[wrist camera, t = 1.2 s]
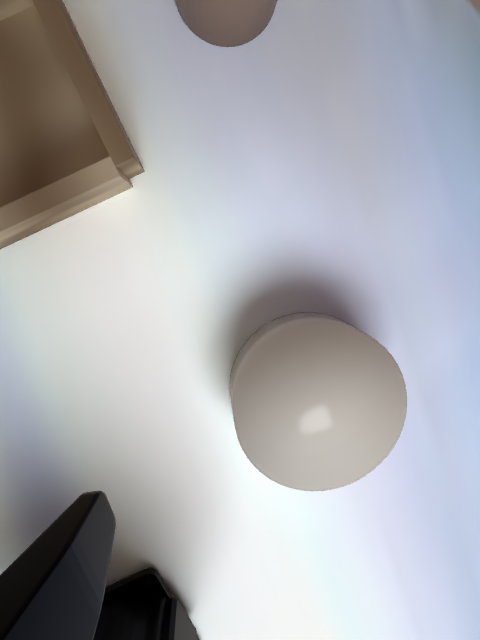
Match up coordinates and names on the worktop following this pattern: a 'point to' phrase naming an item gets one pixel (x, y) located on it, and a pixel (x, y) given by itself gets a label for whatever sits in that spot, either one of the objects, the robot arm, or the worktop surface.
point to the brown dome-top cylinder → (226, 19)
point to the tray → (53, 123)
